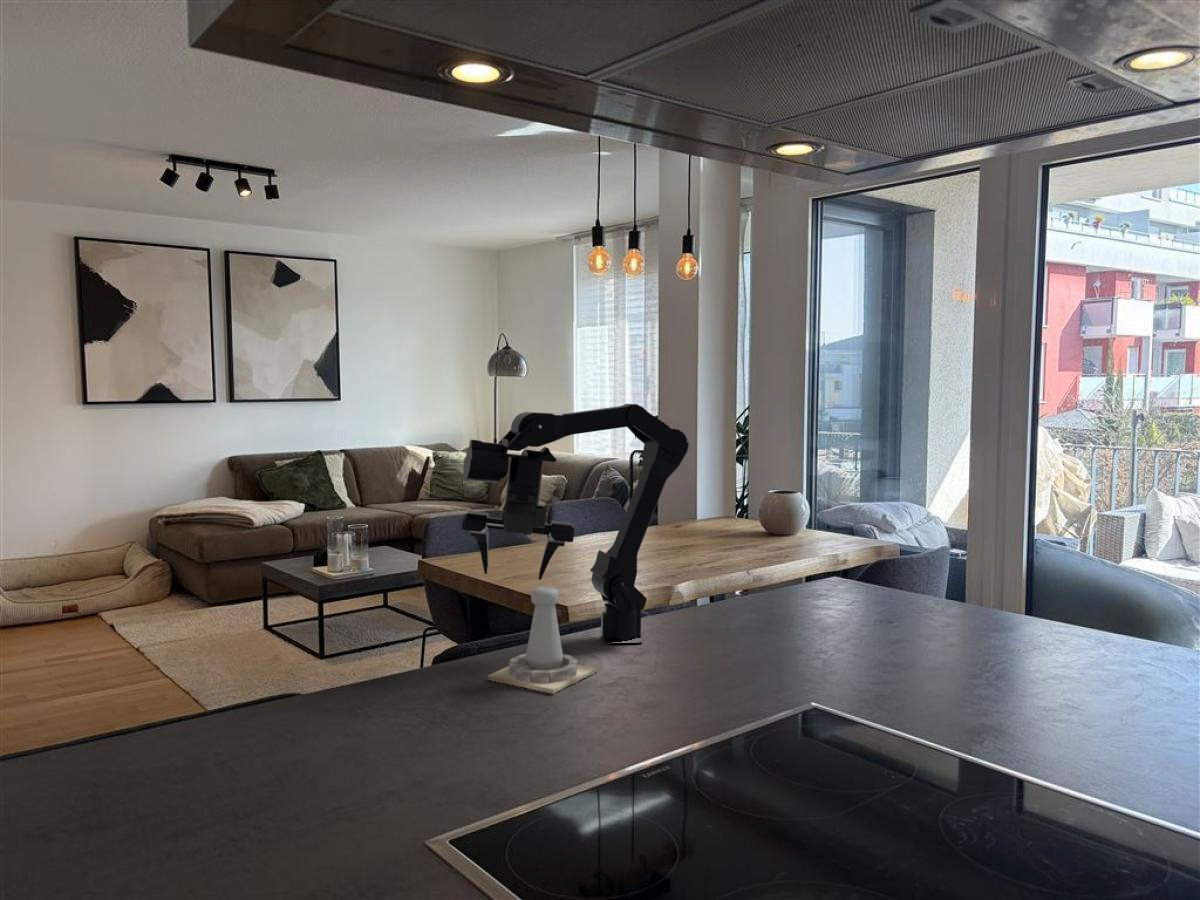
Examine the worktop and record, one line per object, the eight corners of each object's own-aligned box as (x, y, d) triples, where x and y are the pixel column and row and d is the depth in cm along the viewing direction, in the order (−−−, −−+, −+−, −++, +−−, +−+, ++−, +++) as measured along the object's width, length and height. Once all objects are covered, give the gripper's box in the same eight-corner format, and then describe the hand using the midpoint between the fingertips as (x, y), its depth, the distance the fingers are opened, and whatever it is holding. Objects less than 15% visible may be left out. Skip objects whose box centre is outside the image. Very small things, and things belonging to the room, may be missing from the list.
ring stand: (534, 660, 143) (534, 646, 143) (596, 673, 137) (596, 658, 137) (488, 680, 133) (488, 665, 133) (553, 695, 127) (553, 679, 127)
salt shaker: (521, 675, 133) (521, 591, 132) (530, 664, 138) (531, 583, 138) (558, 678, 132) (559, 593, 131) (566, 666, 137) (567, 585, 137)
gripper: (464, 482, 139) (452, 578, 140) (580, 496, 141) (568, 591, 141) (470, 478, 151) (459, 567, 151) (577, 490, 152) (566, 579, 152)
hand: (512, 576), depth 148 cm, fingers open, 9 cm apart
